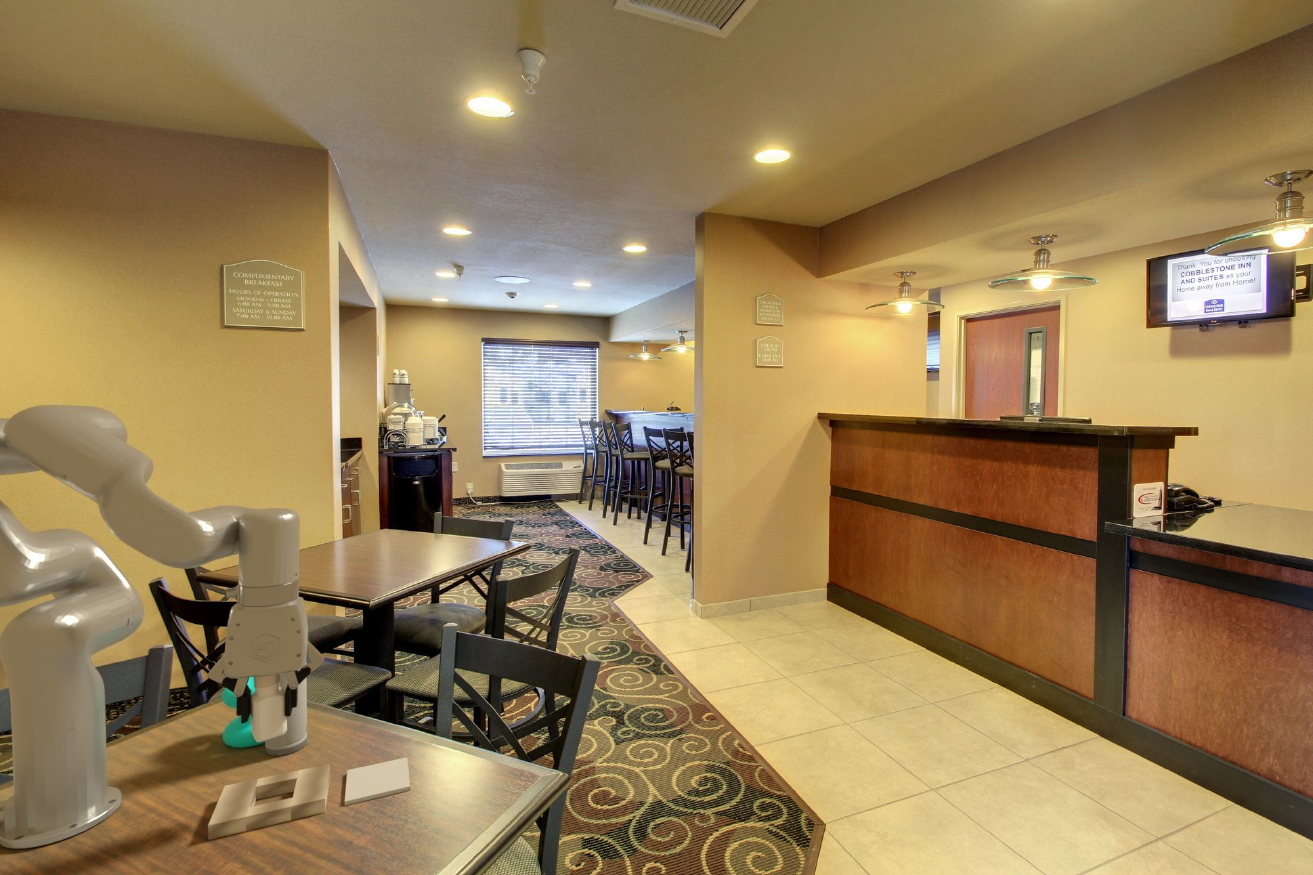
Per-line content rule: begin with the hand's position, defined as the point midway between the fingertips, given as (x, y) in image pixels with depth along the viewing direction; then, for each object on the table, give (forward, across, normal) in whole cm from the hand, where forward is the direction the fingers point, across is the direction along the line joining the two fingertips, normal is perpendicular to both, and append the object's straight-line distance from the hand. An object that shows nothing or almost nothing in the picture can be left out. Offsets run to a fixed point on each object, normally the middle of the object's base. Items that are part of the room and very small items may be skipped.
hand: (267, 714), depth 89 cm
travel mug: (+14, +1, +18) cm, 23 cm away
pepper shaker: (+3, 0, 0) cm, 3 cm away
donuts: (+14, -5, +25) cm, 29 cm away
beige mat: (+13, +15, 0) cm, 20 cm away
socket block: (+14, +1, 0) cm, 14 cm away
